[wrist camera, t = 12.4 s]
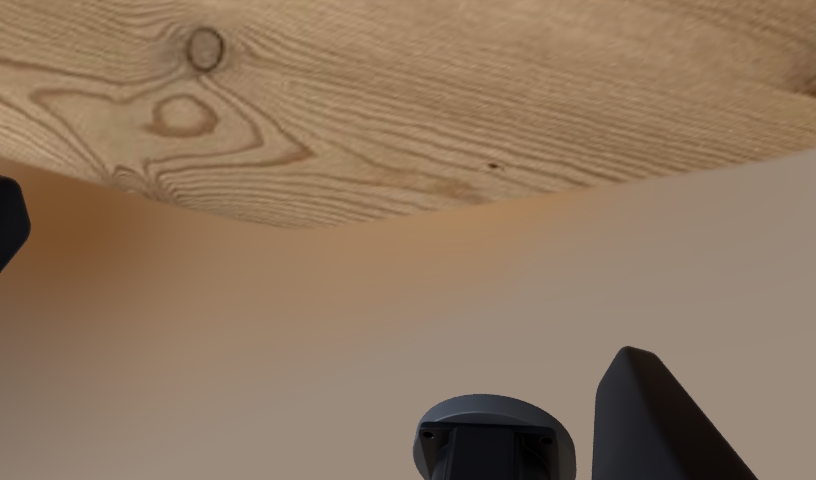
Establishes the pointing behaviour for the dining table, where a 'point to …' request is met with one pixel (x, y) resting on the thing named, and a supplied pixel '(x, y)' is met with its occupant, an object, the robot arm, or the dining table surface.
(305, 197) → the dining table surface
